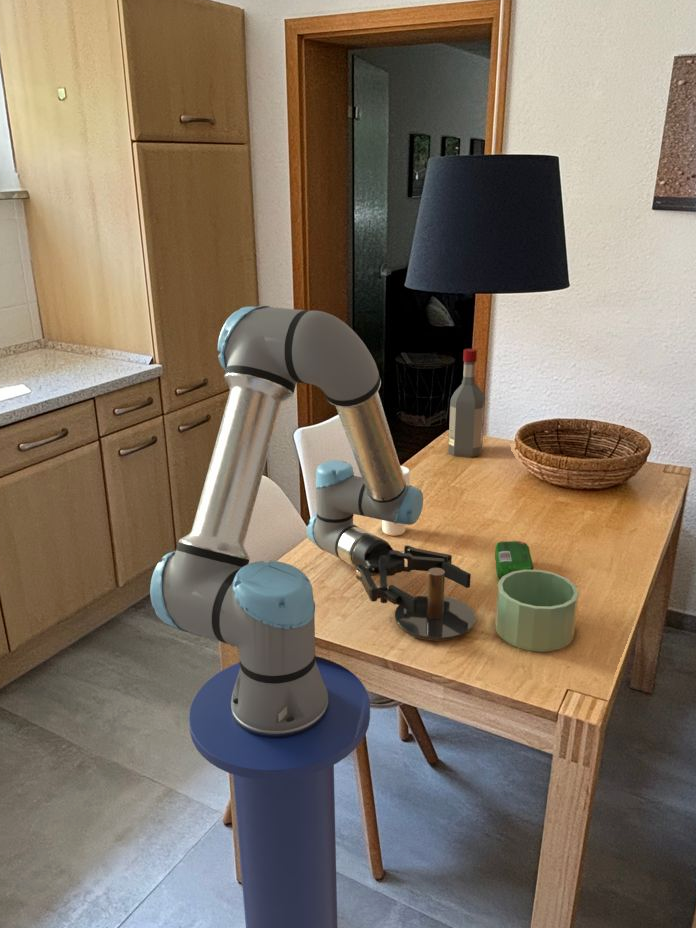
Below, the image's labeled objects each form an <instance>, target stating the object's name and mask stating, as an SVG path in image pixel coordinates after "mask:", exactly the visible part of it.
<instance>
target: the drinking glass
mask: <svg viewBox="0 0 696 928" xmlns="http://www.w3.org/2000/svg"><path fill="white" fill-rule="evenodd" d="M400 467H401V470H402V474H403V477H404V479H405V483H406V485H407V486H410V485H411V482H410V481H411V479H410V477H411V475H410V469H409V468H408V467H406V466H403V465H400ZM406 527H407V524H400V523H396V524H395V523H393V522H389V521H384V520H381V531H382V532H383V533H384V534H386V535H388V536H393V537H395V536H400V535H403V534H404V533H405V532H406V529H407V528H406Z"/></svg>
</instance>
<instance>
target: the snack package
mask: <svg viewBox="0 0 696 928" xmlns="http://www.w3.org/2000/svg"><path fill="white" fill-rule="evenodd" d="M494 559H495V570H496V576H497V580H498V582H499V581H500V579H501V578H502V577H503V576H505V575H507V574H509V573H510V572H513V571H519V570H535V568H534V563H533V559H532V555H531V551H530V547H529V545H528V543H526V542H524V541H521V540H519V541H518V540H514V541H513V540H512V541H509V540H508V541H498V542H497V543H496V545H495V548H494Z"/></svg>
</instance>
